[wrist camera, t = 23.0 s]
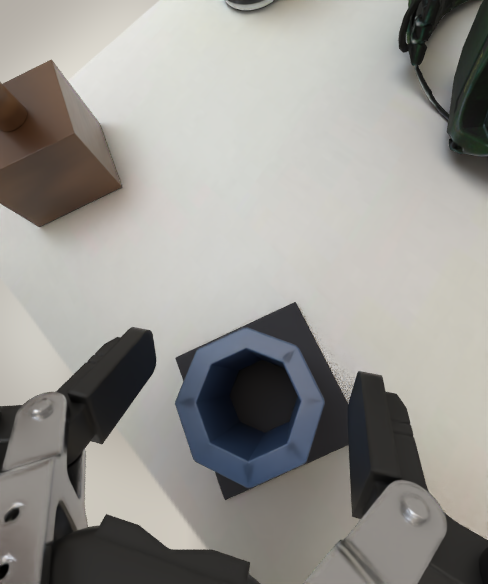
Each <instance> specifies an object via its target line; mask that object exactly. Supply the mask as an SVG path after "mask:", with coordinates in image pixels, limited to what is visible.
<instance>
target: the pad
mask: <svg viewBox="0 0 488 584" xmlns="http://www.w3.org/2000/svg"><path fill="white" fill-rule="evenodd" d="M242 328H250V329H253V330H256V331H258V332H261V333H264V334H267V335H269V336H272V337H275V338H277V339H280V340H283V341H286V342H288V343H291V344H294V345H296V346H297V347H298V348H299V349H300V351H301V353H302V355H303V357H304V359H305V361H306V363H307V365H308V367H309V369H310V371H311V373H312V375H313V378H314V380H315V382H316V384H317V386H318V388H319V390H320V392H321V394H322V396H323V398H324V401H325V404H324V407H323V410H322V413H321V417H320V420H319V423H318V426H317V430H316V433H315V436H314V439H313V442H312V446H311V449H310V452H309V455H308V459H307V462H306V463H305V464H307V463H309V462H311V461H313V460H316V459H318V458H320V457H322V456H324V455H327V454H329V453H331V452H333V451H336V450H338V449H340V448H342V447H344V446H347V445H349V440H348V419H347V415H348V403H347V401H346V399H345V397H344V395H343V393H342V391H341V389H340V387H339V386H338V384H337V382H336V380H335V378H334V376H333V374H332V372H331V370H330V368H329V366H328V364H327V362H326V360H325V358H324V356H323V354H322V352H321V351H320V349H319V347H318V345H317V343H316V341H315V339H314V337H313V335H312V333H311V331H310V329H309V327H308V325H307V323H306V321H305V319H304V317H303V316H302V314H301V312H300V310H299V308H298V306H297V304H296V302H294V303H292V304H290V305H288V306H286V307H284V308H281V309H279V310H277V311H275V312H273V313H271V314H269V315H266V316H264V317H262V318H260V319H258V320H256V321H254V322H251V323H249V324H247V325H245V326H243V327H241V328H238V329H236V330H234V331H232V332H230V333H228V334H226V335H223V336H221V337H219V338H217V339H215V340H213V341H211V342H208V343H206V344H204V345H202V346H200V347H198V348H195V349H193V350H191V351H189V352H187V353H185V354H183V355H180V356H178V357H176V361H177V364H178V367H179V369H180V372H181V375H182V378H183V381H184V379H185V377H186V375H187V372H188V370H189V367H190V365H191V362H192V360H193V358H194V355H195V353H196V351H197V350H198V349H199V348H201V347H204V346H206V345H208V344H210V343H212V342H214V341H217V340H219V339H221V338H223V337H225V336H227V335H229V334H232V333H234V332H236V331H238V330H240V329H242ZM229 396H230V398H231V401H232V403H233V406H234V408H235V411H236V414H237V416H238V419H239V421H240V422H242V423H244V424H246V425H249V426H251V427H253V428H255V429H257V430H260V431H262V432H264V433H265V432H267V431H270V430H272V429H274V428H276V427H278V426H280V425H283V424H285V423H287V422H289V421H290V418H291V415H292V412H293V409H294V406H295V403H296V400H297V397H298V395H297V393H296V391H295V389H294V387H293V384H292V382H291V380H290V378H289V376H288V374H287V372H286V369H284V368H282V367H279V366H277V365H274V364H272V363H269V362H266V361H264V360H260V361H258V362H256V363H254V364H252V365H250V366H248V367H245V368H243V369H241V370H239V372H238V374H237V377H236V380H235V382H234V385H233V387H232V390H231V393H230V395H229ZM305 464H303V465H305ZM301 466H302V465H301ZM299 467H300V466H299ZM297 468H298V467H297ZM294 469H296V468H294ZM292 470H293V469H292ZM290 471H291V470H290ZM288 472H289V471H288ZM215 473H216V476H217V479H218V482H219V485H220V488H221V490H222V493H223V496H224V499H225V500H227V499H229V498H231V497H233V496H236V495H238V494H240V493H242V492H245V491H247V490H249V489H251V488H247V487H245V486H243V485H241V484H239V483H237V482H235V481H233V480H231V479H229V478H227V477H225V476H223V475H221V474H219V473H217V472H215ZM285 473H287V472H285ZM285 473H283V474H285ZM281 475H282V474H281ZM279 476H280V475H279ZM277 477H278V476H277ZM274 478H276V477H274ZM272 479H273V478H272ZM270 480H271V479H270ZM268 481H269V480H268ZM265 482H267V481H265ZM265 482H263V483H265ZM261 484H262V483H261ZM259 485H260V484H259ZM257 486H258V485H257ZM254 487H256V486H254ZM252 488H253V487H252Z"/></svg>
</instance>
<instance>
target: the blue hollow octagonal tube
mask: <svg viewBox="0 0 488 584" xmlns="http://www.w3.org/2000/svg"><path fill="white" fill-rule="evenodd" d="M260 360H264V361H266V362H269V363H272V364H274V365H277V366H279V367H282V368H284V369H286V372H287V374H288V376H289V378H290V380H291V382H292V384H293V387H294V389H295V391H296V393H297V395H298V397H297V400H296V403H295V406H294V409H293V412H292V415H291V418H290V421H289V422H287V423H285V424H283V425H280V426H278V427H276V428H274V429H272V430H270V431H267V432H265V433H264V432H262V431H260V430H257V429H255V428H253V427H251V426H249V425H246V424H244V423H242V422H240V421H239V419H238V416H237V414H236V411H235V408H234V406H233V403H232V401H231V398H230V396H229V395H230V393H231V390H232V387H233V385H234V382H235V380H236V377H237V374H238V372H239V370H241V369H243V368H245V367H248V366H250V365H252V364H254V363H256V362H258V361H260ZM324 404H325V401H324V398H323V396H322V394H321V392H320V390H319V388H318V386H317V384H316V382H315V380H314V378H313V375H312V373H311V371H310V369H309V367H308V365H307V363H306V361H305V359H304V357H303V355H302V353H301V351H300V349H299V348H298V347H297V346H296V345H294V344H291V343H288V342H286V341H283V340H280V339H277V338H275V337H272V336H269V335H267V334H264V333H261V332H258V331H256V330H253V329H250V328H242V329H240V330H238V331H236V332H234V333H232V334H229V335H227V336H225V337H223V338H221V339H219V340H217V341H214V342H212V343H210V344H208V345H206V346H204V347H201V348H199V349H198V350H197V351H196V353H195V355H194V358H193V360H192V362H191V365H190V367H189V370H188V372H187V375H186V377H185V379H184V382H183V384H182V387H181V389H180V391H179V394H178V396H177V399H176V401H175V405H176V408H177V411H178V414H179V417H180V420H181V423H182V426H183V429H184V432H185V435H186V438H187V441H188V444H189V447H190V450H191V454H192V457H193V460H195V462H197V463H199V464H201V465H203V466H205V467H207V468H209V469H211V470H213V471H215V472H217V473H219V474H221V475H223V476H225V477H227V478H229V479H231V480H233V481H235V482H237V483H239V484H241V485H243V486H245V487H247V488H252V487H254V486H257V485H259V484H261V483H263V482H265V481H268V480H270V479H272V478H274V477H277V476H279V475H281V474H283V473H285V472H288V471H290V470H292V469H294V468H297V467H299V466H301V465H303V464H305V463H306V462H307V459H308V455H309V452H310V449H311V446H312V442H313V439H314V436H315V433H316V430H317V426H318V423H319V420H320V417H321V413H322V410H323V407H324Z"/></svg>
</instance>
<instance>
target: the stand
mask: <svg viewBox="0 0 488 584" xmlns="http://www.w3.org/2000/svg"><path fill="white" fill-rule="evenodd" d="M121 187H122V185H121V182H120V179H119V177H118V174H117V171H116V168H115V165H114V163H113V160H112V157H111V154H110V151H109V148H108V146H107V143H106V140H105V137H104V134H103V132H102V129H101V126H100V123H99V122H98V120H97V119H96V118H95V116H94V115H93V114H92V112H91V111H90V110H89V109H88V107H87V106H86V105H85V103H84V102H83V101H82V99H81V98H80V97H79V95H78V94H77V93H76V91H75V90H74V89H73V87H72V86H71V85H70V83H69V82H68V81H67V79H66V78H65V77H64V75H63V74H62V73H61V71H60V70H59V69H58V67H57V66H56V65H55V63H54V62H53V61H52V60H50V61H47V62H46V63H44V64H42V65H39V66H37V67H36V68H33V69H31V70H29V71H27V72H25V73H24V74H21V75H19V76H17V77H15V78H13V79H11V80H9V81H7V82H5V83H3V84H2V83H1V82H0V204H2V205H4V206H5V207H7V208H9V209H10V210H12V211H14V212H15V213H17V214H19V215H20V216H22V217H24V218H25V219H27V220H28V221H30V222H32V223H33V224H35V225H37V226H38V227H41V226H43V225H45V224H47V223H49V222H51V221H53V220H55V219H57V218H59V217H61V216H63V215H65V214H67V213H70V212H72V211H74V210H76V209H78V208H80V207H82V206H84V205H86V204H88V203H90V202H92V201H94V200H96V199H99V198H101V197H103V196H105V195H107V194H109V193H111V192H113V191H115V190H117V189H119V188H121Z"/></svg>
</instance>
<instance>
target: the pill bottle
mask: <svg viewBox="0 0 488 584" xmlns="http://www.w3.org/2000/svg"><path fill="white" fill-rule="evenodd" d="M225 1H226V2H227V3H228V4H229V5H230V6H232V7H233V8H236V9H240V10H254V9H258V8H261V7H264V6H266V5H268V4H270V3H271V2H273V1H274V0H225Z"/></svg>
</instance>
